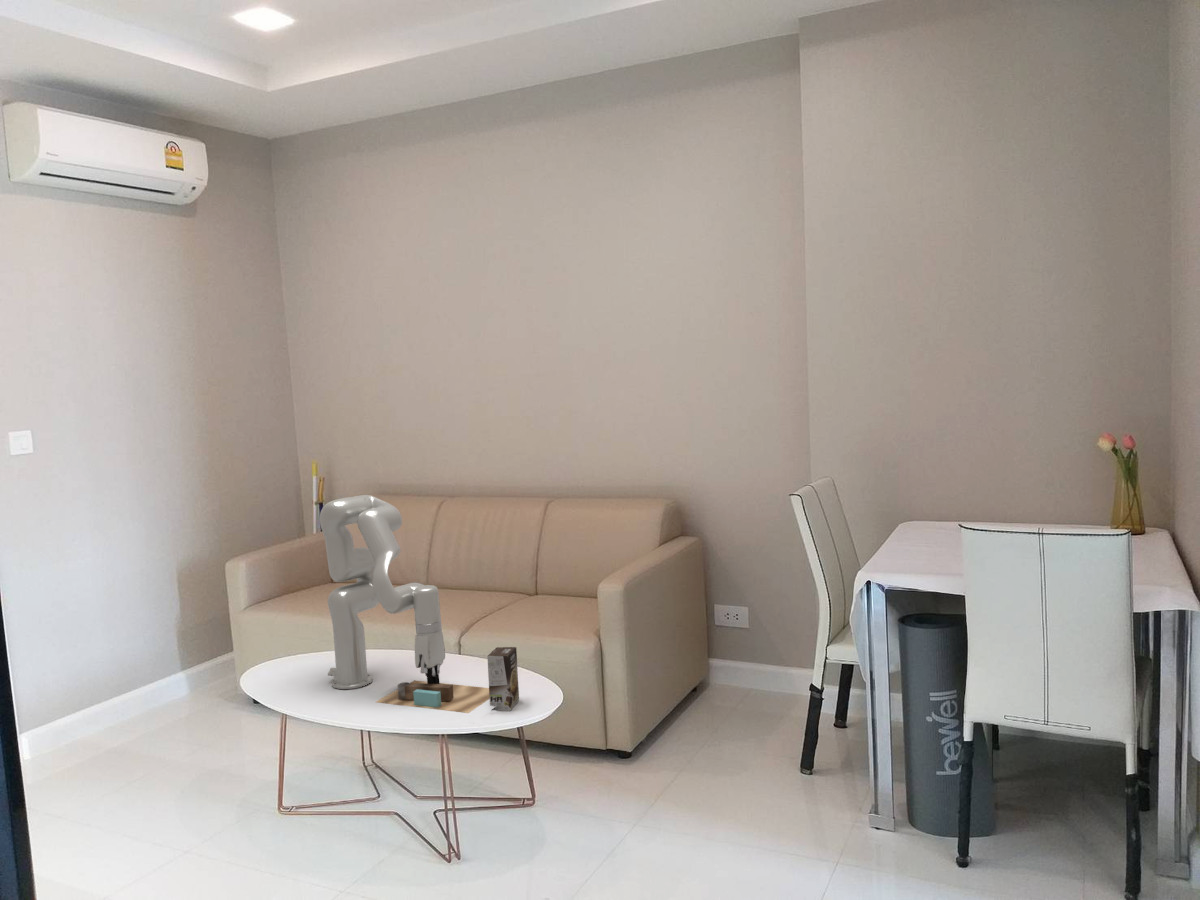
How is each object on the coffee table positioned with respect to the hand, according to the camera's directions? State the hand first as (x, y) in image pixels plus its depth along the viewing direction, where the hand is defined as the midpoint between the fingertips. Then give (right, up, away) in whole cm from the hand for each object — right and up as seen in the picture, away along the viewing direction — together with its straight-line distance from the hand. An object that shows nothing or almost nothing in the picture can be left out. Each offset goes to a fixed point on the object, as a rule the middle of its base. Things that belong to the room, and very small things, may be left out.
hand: (433, 688), depth 268 cm
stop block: (0, -3, -8) cm, 8 cm away
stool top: (+2, -4, 0) cm, 4 cm away
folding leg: (-2, -2, -3) cm, 4 cm away
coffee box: (+22, -4, -6) cm, 23 cm away
